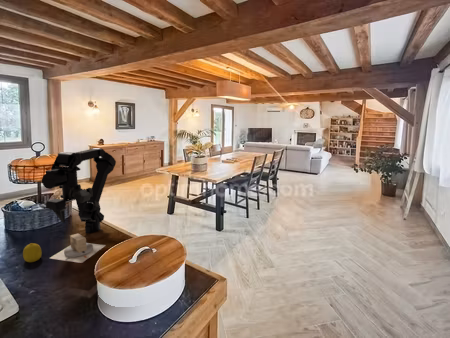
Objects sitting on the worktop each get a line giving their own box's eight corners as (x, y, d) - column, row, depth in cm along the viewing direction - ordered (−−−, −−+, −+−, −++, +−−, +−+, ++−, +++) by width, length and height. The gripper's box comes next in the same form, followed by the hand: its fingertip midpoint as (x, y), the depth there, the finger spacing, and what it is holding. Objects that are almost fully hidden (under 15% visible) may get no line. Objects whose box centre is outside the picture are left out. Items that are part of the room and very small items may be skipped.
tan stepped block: (60, 251, 102) (58, 237, 101) (86, 242, 110) (85, 229, 109) (70, 260, 96) (69, 245, 95) (97, 250, 104) (96, 236, 103)
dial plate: (76, 244, 111) (76, 241, 111) (106, 248, 109) (105, 245, 108) (49, 261, 98) (49, 257, 97) (82, 266, 95) (81, 262, 95)
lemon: (32, 268, 93) (30, 247, 92) (20, 265, 94) (17, 245, 93) (46, 260, 99) (44, 240, 97) (34, 258, 100) (31, 239, 98)
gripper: (66, 190, 95) (69, 229, 98) (102, 179, 113) (104, 213, 116) (42, 187, 98) (46, 225, 101) (81, 177, 116) (83, 210, 119)
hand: (72, 218), depth 109 cm, fingers open, 9 cm apart
